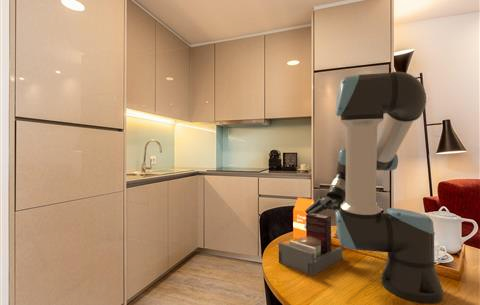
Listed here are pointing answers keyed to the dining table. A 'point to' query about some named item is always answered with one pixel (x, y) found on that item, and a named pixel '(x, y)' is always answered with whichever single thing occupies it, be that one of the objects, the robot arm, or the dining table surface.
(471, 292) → the dining table surface
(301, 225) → the orange juice
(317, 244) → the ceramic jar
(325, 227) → the supplement box
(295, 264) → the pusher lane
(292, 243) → the plate
